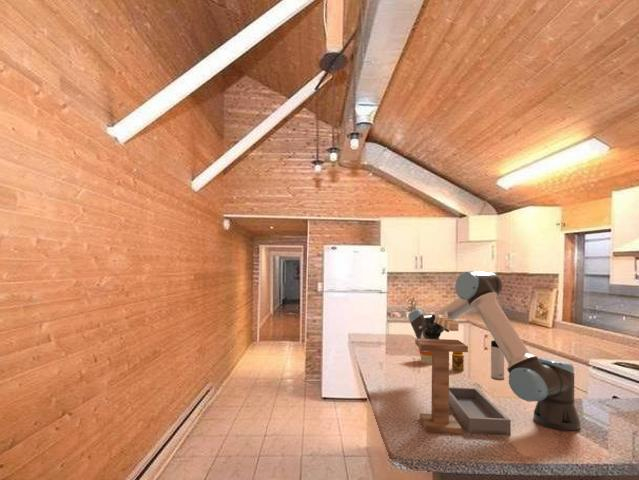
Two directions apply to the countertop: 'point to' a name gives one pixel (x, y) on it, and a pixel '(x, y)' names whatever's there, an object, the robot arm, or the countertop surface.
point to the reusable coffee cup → (426, 356)
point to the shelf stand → (440, 385)
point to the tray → (478, 412)
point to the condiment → (457, 362)
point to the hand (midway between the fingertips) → (442, 313)
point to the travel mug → (497, 362)
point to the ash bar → (447, 323)
